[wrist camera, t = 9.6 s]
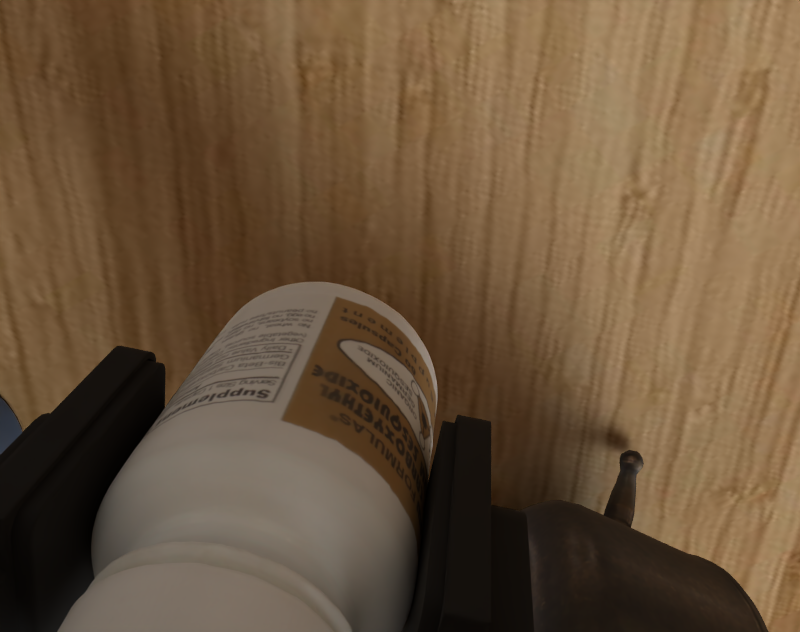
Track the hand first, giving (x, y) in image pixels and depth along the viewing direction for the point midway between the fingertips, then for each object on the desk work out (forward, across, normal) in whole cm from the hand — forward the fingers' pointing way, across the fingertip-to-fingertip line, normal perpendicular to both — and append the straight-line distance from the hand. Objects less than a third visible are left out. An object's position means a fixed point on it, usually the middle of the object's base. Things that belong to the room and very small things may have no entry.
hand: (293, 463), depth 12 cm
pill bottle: (+3, 0, 0) cm, 3 cm away
